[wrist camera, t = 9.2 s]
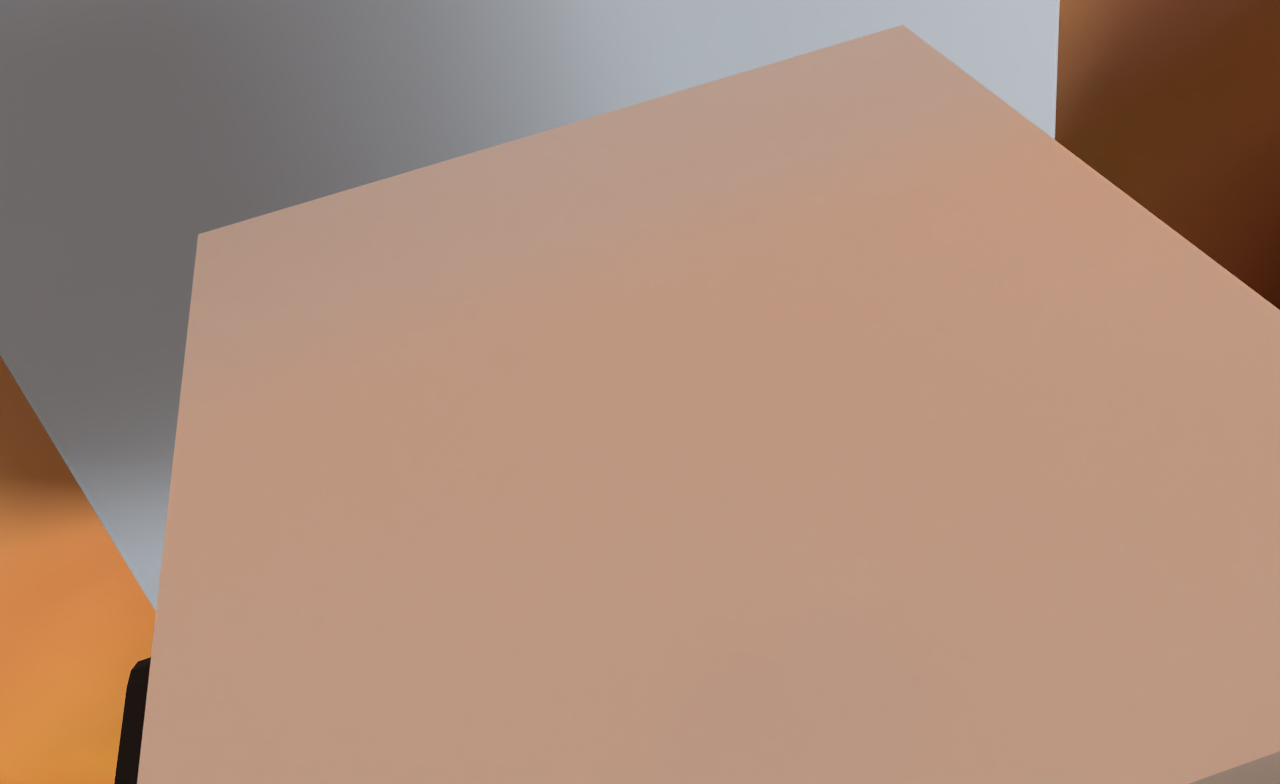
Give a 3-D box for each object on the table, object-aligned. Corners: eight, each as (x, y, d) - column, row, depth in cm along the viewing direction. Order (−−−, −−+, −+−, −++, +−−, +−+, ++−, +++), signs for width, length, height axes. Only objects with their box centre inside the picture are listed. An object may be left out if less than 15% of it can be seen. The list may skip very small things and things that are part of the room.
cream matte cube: (198, 234, 10) (94, 1173, 4) (902, 23, 10) (1677, 609, 5) (426, 704, 13) (536, 1545, 8) (939, 533, 14) (1396, 1209, 8)
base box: (-153, -300, 15) (-355, -227, 10) (841, -522, 16) (1078, -552, 11) (238, 481, 23) (228, 731, 18) (889, 292, 24) (1042, 479, 19)
